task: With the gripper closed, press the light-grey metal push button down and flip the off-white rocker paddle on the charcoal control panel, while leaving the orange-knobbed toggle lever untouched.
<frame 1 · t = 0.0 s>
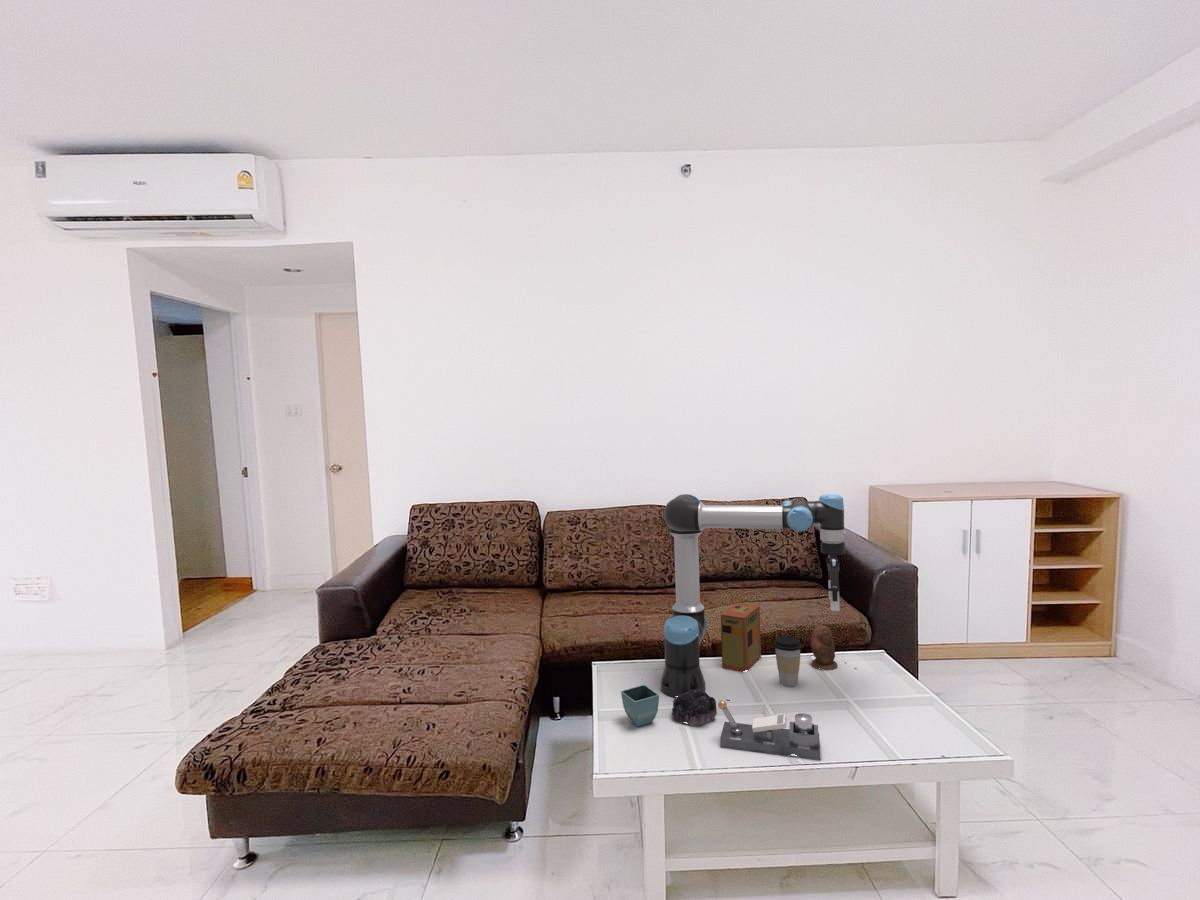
hand: (834, 604, 200), 28 cm above the table, fingers open, 13 cm apart
box: (742, 663, 225), on the table
toggle: (727, 713, 170), point 7 cm above the table, hinge at -30.0°
flower pot: (640, 722, 182), on the table
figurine: (824, 666, 220), on the table
rocker: (769, 722, 167), point 6 cm above the table, hinge at -15.0°
button: (803, 724, 164), point 7 cm above the table, slide at 0.0 cm
panel: (770, 744, 167), on the table
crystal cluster: (694, 718, 184), on the table
coffee cup: (788, 684, 206), on the table
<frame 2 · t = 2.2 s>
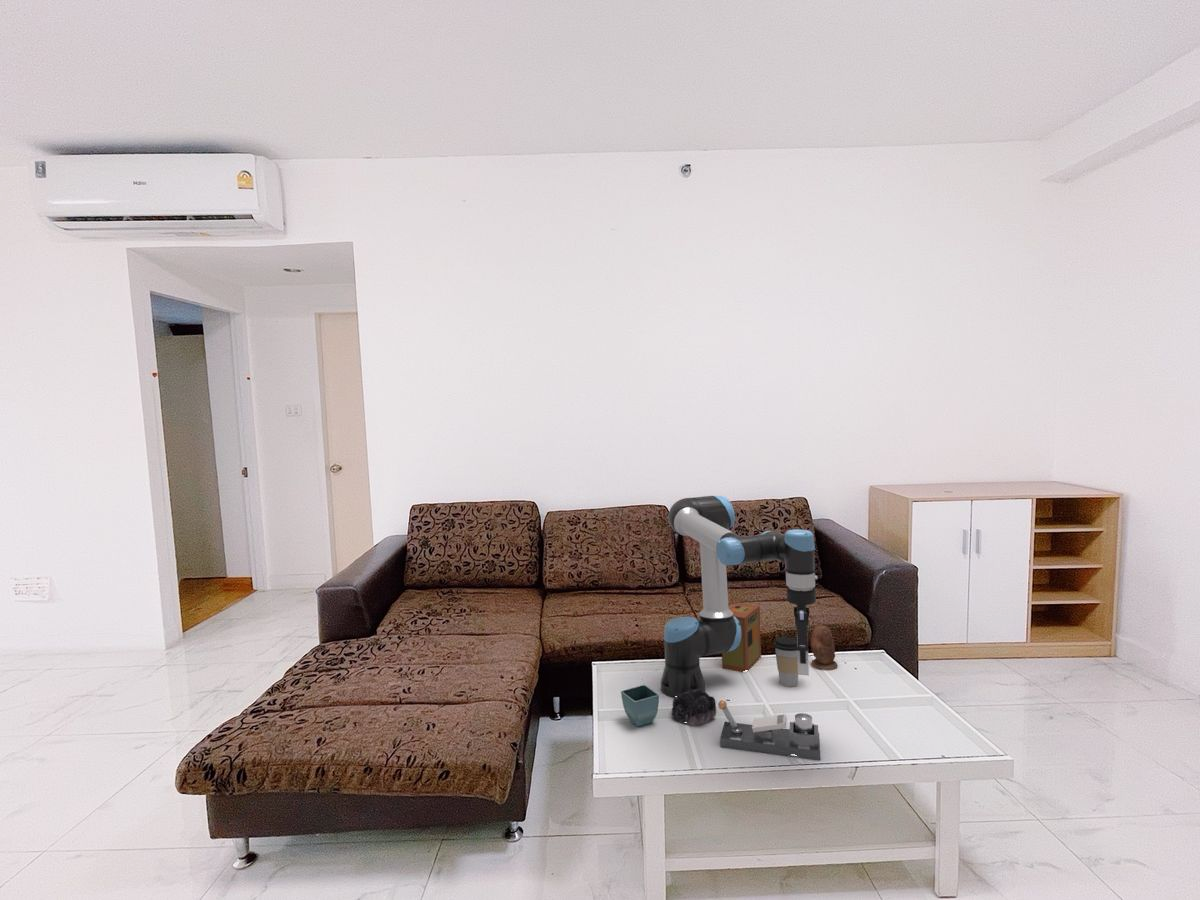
hand: (803, 665, 164), 23 cm above the table, fingers open, 13 cm apart
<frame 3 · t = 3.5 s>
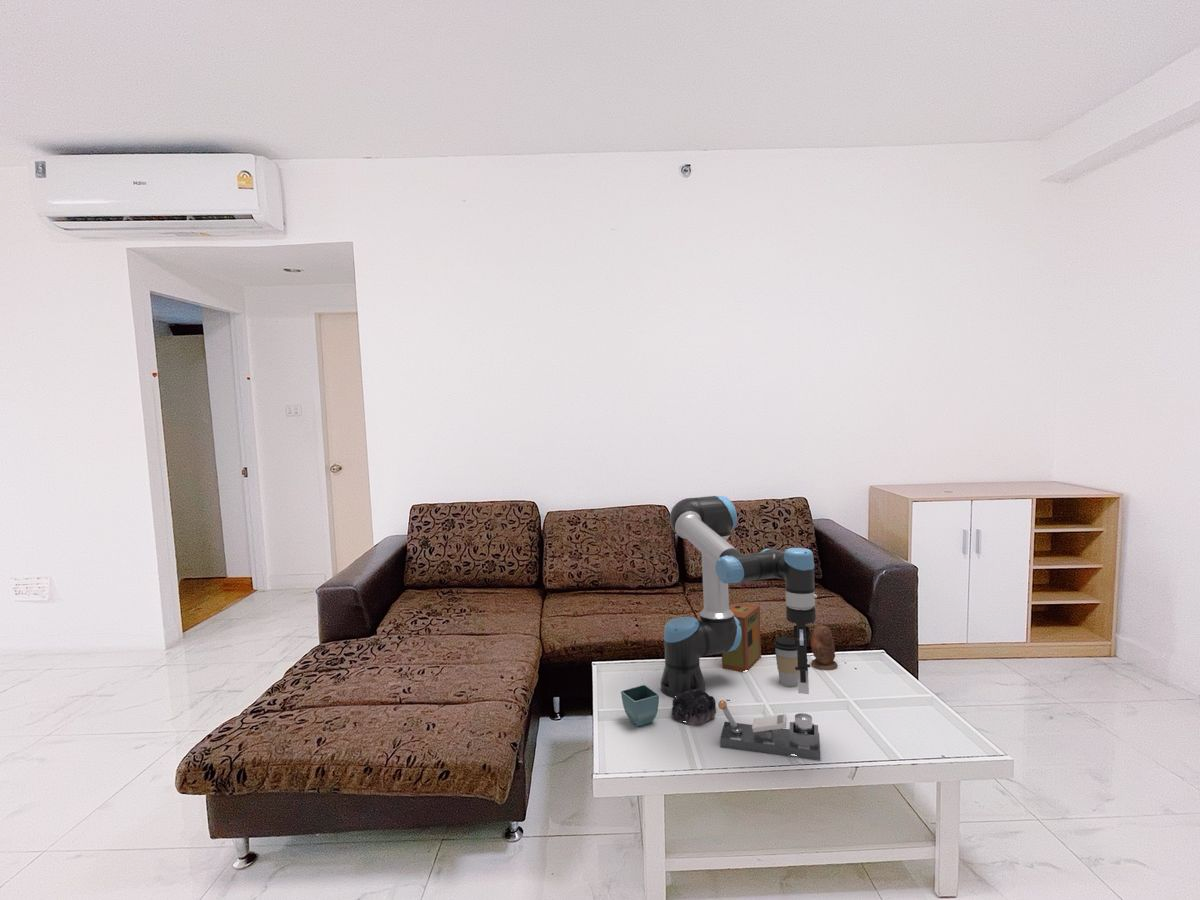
hand: (803, 692, 163), 16 cm above the table, fingers closed
nothing on the table moved.
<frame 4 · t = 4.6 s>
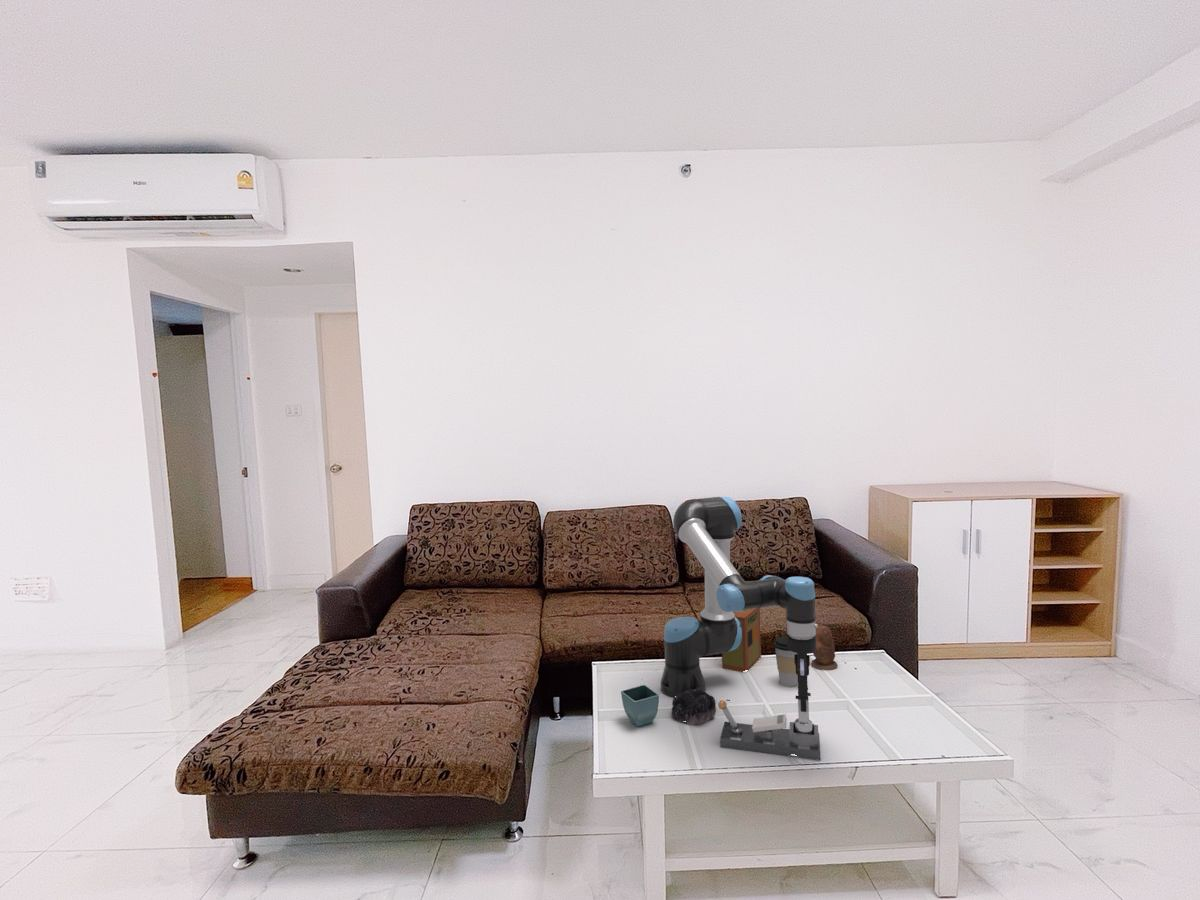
hand: (803, 721, 164), 8 cm above the table, fingers closed
button: (803, 729, 164), point 5 cm above the table, slide at 1.3 cm, touching gripper
everything else where it was.
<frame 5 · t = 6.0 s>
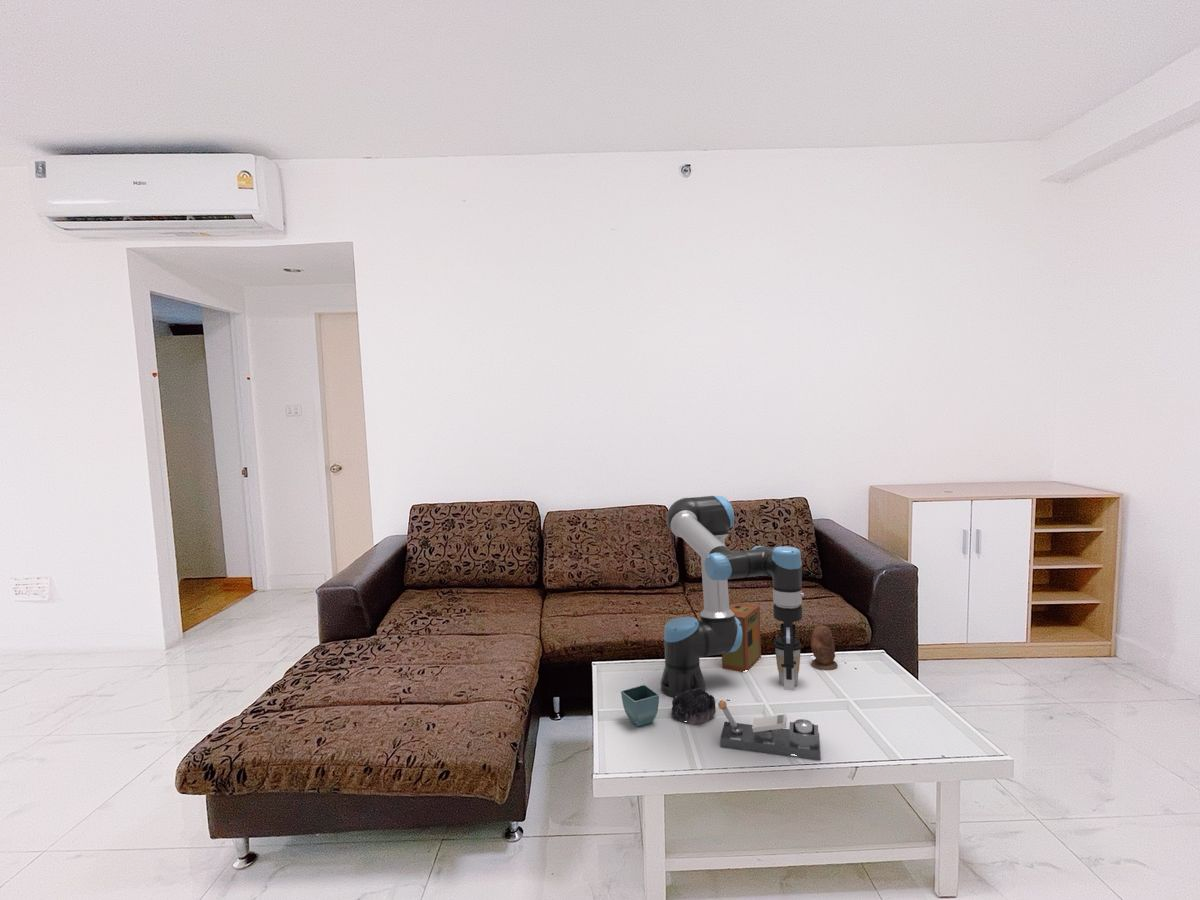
hand: (789, 689, 165), 16 cm above the table, fingers closed
button: (803, 730, 164), point 5 cm above the table, slide at 1.7 cm
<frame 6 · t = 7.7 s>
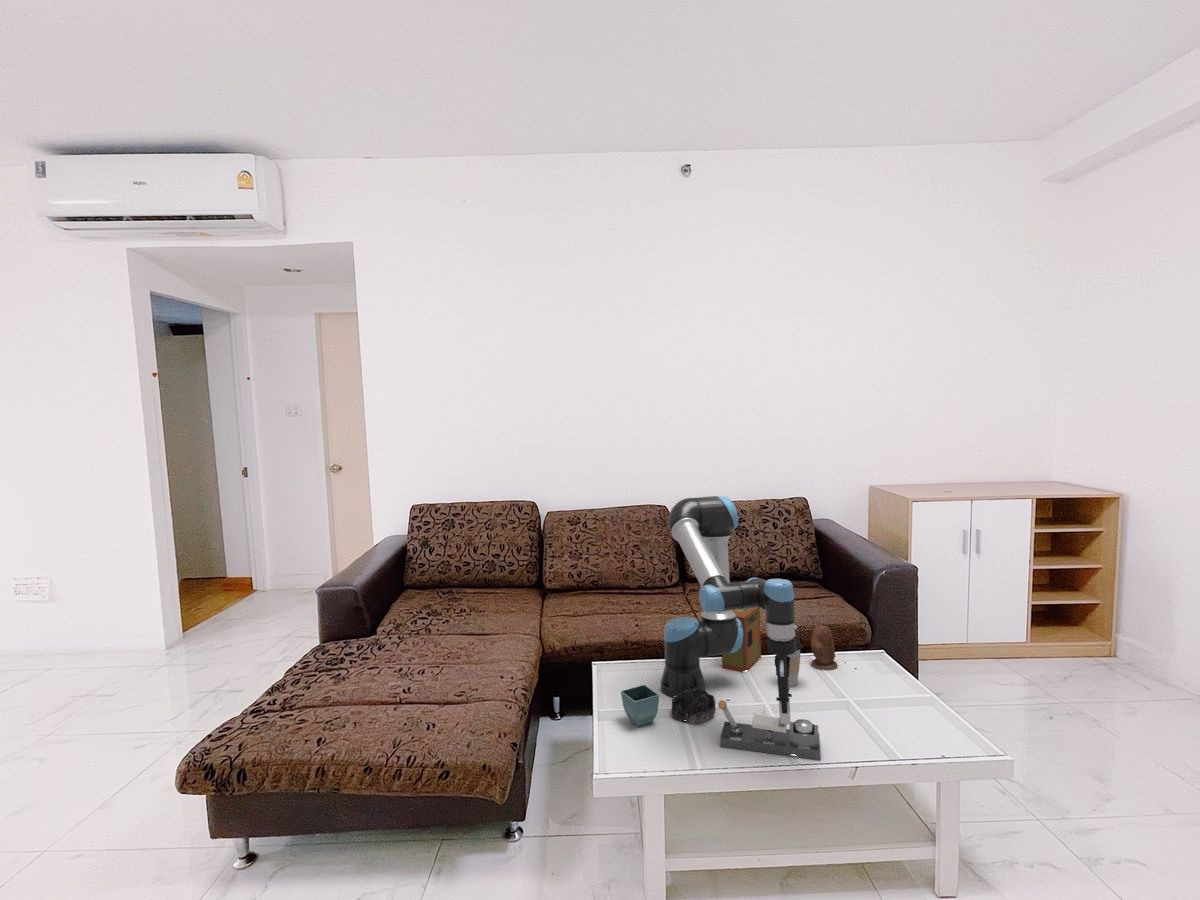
hand: (785, 722, 165), 7 cm above the table, fingers closed
rocker: (769, 722, 167), point 6 cm above the table, hinge at 3.0°, touching gripper
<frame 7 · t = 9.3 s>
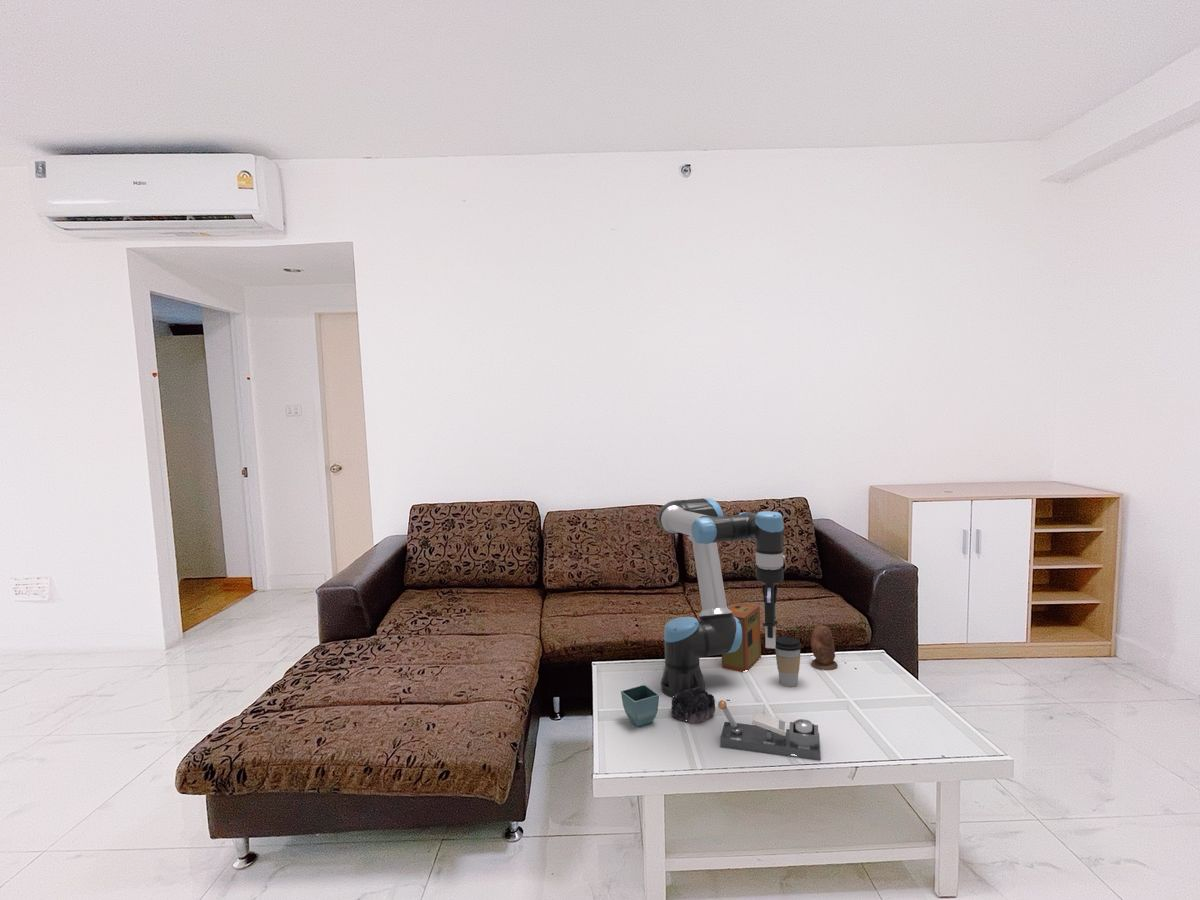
hand: (770, 647, 173), 25 cm above the table, fingers closed
rocker: (769, 722, 167), point 6 cm above the table, hinge at 15.2°
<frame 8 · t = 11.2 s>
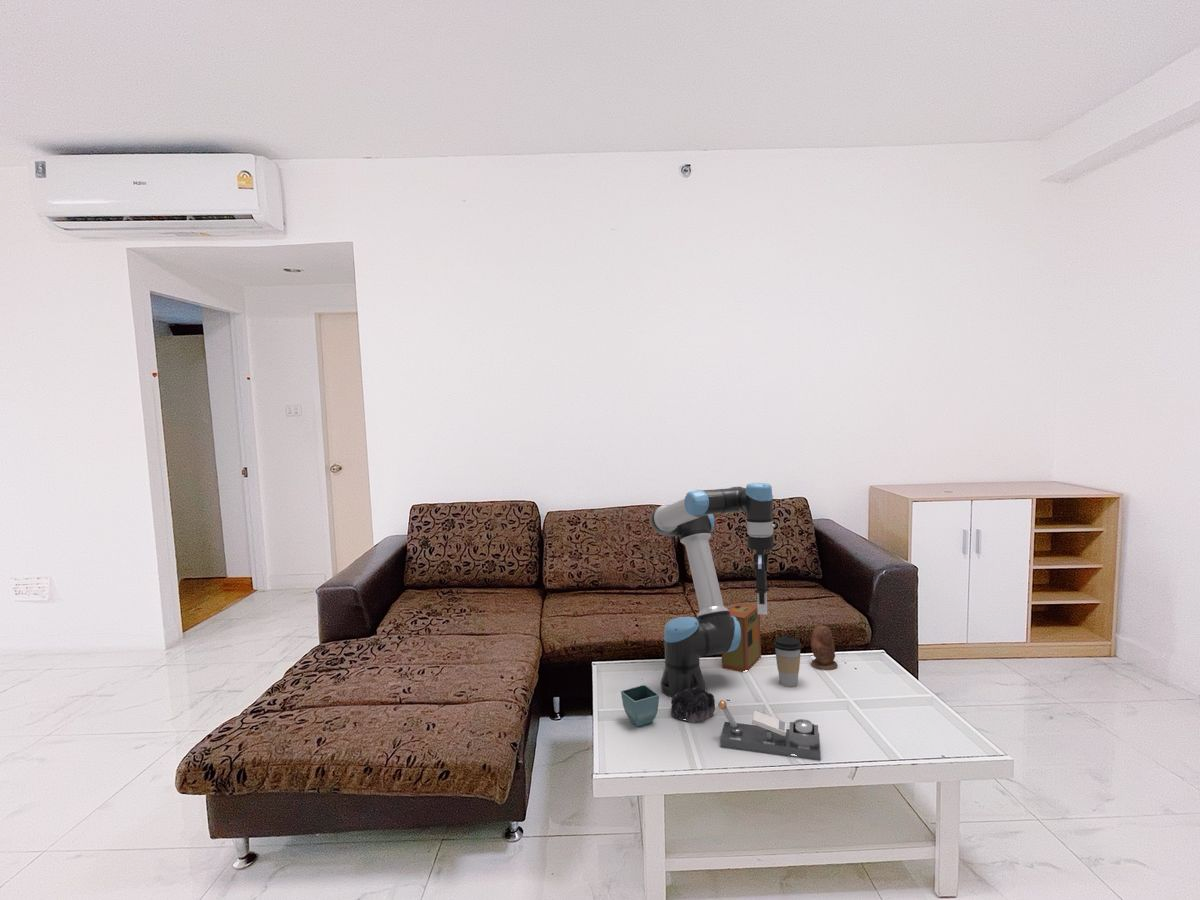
hand: (762, 613, 179), 32 cm above the table, fingers closed
rocker: (769, 722, 167), point 6 cm above the table, hinge at 15.9°
at the end: button slide at 1.7 cm; rocker at +16° (first picture: -15°); toggle at -30° (first picture: -30°) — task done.
